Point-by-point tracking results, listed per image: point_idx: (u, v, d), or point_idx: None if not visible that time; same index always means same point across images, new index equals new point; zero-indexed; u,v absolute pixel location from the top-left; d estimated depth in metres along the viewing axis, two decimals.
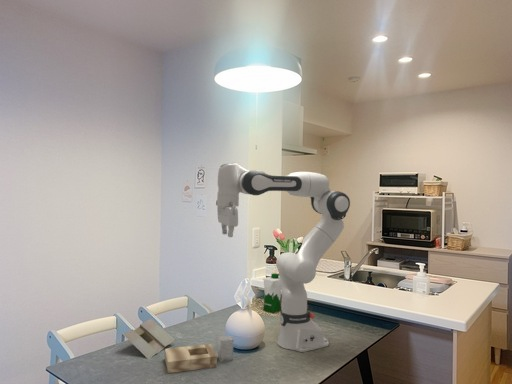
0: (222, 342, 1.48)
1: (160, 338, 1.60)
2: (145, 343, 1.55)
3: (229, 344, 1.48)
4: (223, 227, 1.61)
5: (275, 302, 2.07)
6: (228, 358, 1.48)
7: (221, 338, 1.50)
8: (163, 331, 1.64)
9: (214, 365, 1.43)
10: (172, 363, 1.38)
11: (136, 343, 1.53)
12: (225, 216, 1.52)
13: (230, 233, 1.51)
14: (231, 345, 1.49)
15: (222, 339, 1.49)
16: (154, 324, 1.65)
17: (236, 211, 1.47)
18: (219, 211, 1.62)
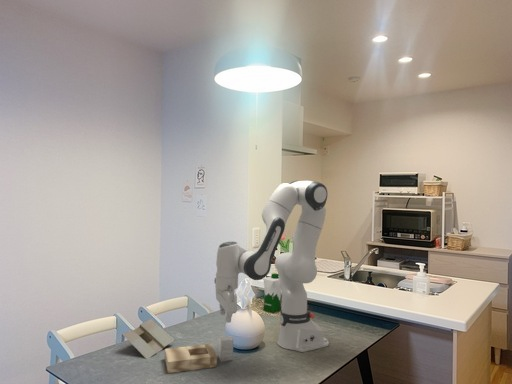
0: (222, 342, 1.48)
1: (159, 338, 1.60)
2: (144, 343, 1.55)
3: (229, 344, 1.48)
4: (221, 306, 1.55)
5: (275, 302, 2.07)
6: (228, 358, 1.48)
7: (221, 338, 1.50)
8: (163, 331, 1.64)
9: (214, 365, 1.43)
10: (172, 363, 1.38)
11: (135, 343, 1.53)
12: (223, 300, 1.46)
13: (228, 318, 1.45)
14: (231, 345, 1.49)
15: (222, 339, 1.49)
16: (154, 324, 1.65)
17: (235, 297, 1.41)
18: (217, 289, 1.56)
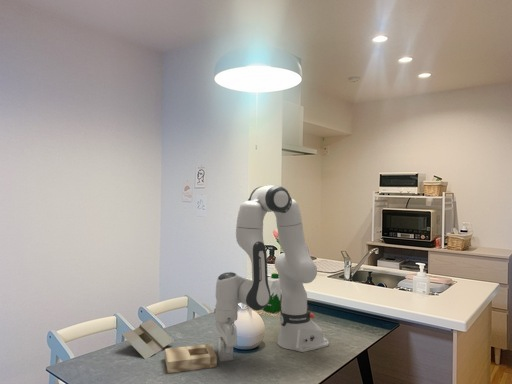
0: (222, 342, 1.48)
1: (159, 338, 1.59)
2: (143, 343, 1.54)
3: None
4: None
5: (275, 302, 2.07)
6: (228, 358, 1.48)
7: (221, 338, 1.50)
8: (162, 332, 1.63)
9: (214, 365, 1.43)
10: (172, 363, 1.38)
11: (134, 343, 1.53)
12: (223, 332, 1.46)
13: (227, 349, 1.47)
14: None
15: (222, 339, 1.49)
16: (154, 324, 1.65)
17: (235, 331, 1.42)
18: None
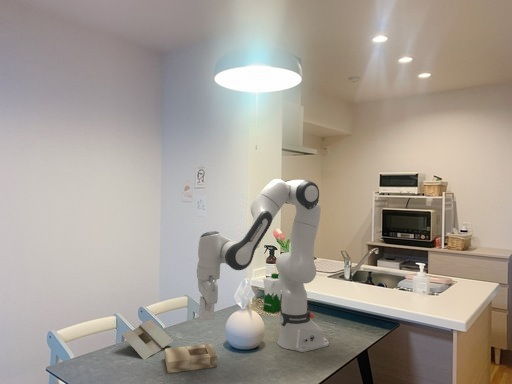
0: (203, 301, 1.45)
1: (158, 339, 1.59)
2: (142, 344, 1.54)
3: None
4: None
5: (275, 302, 2.07)
6: (209, 317, 1.46)
7: (202, 297, 1.47)
8: (162, 332, 1.63)
9: (214, 365, 1.43)
10: (172, 363, 1.38)
11: (133, 343, 1.53)
12: (204, 290, 1.44)
13: (208, 307, 1.44)
14: (212, 304, 1.46)
15: (203, 298, 1.46)
16: (154, 325, 1.65)
17: (216, 287, 1.39)
18: (199, 280, 1.54)
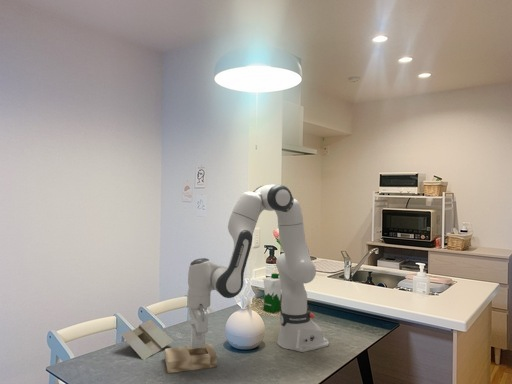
0: (194, 329, 1.44)
1: (158, 339, 1.59)
2: (142, 344, 1.54)
3: None
4: None
5: (275, 302, 2.07)
6: (200, 345, 1.45)
7: (193, 325, 1.46)
8: (162, 332, 1.63)
9: (214, 365, 1.43)
10: (172, 363, 1.38)
11: (133, 343, 1.53)
12: (195, 318, 1.43)
13: (199, 336, 1.43)
14: None
15: (194, 326, 1.45)
16: (153, 325, 1.64)
17: (206, 317, 1.38)
18: None
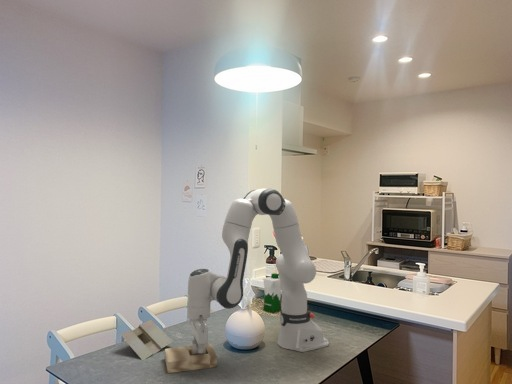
0: (194, 345, 1.44)
1: (157, 339, 1.58)
2: (141, 344, 1.54)
3: None
4: None
5: (275, 302, 2.07)
6: None
7: (193, 341, 1.46)
8: (162, 332, 1.62)
9: (214, 365, 1.43)
10: (172, 363, 1.38)
11: (132, 343, 1.53)
12: (195, 329, 1.43)
13: (200, 349, 1.41)
14: (203, 348, 1.45)
15: (194, 342, 1.45)
16: (153, 325, 1.64)
17: (206, 328, 1.38)
18: None
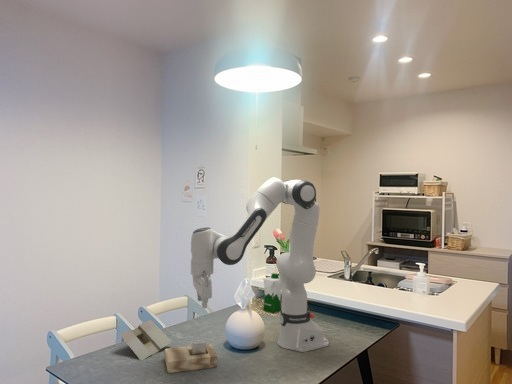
0: (194, 345, 1.44)
1: (157, 339, 1.58)
2: (140, 344, 1.54)
3: (201, 347, 1.45)
4: (198, 293, 1.54)
5: (275, 302, 2.07)
6: None
7: (193, 341, 1.46)
8: (161, 333, 1.62)
9: (214, 365, 1.43)
10: (172, 363, 1.38)
11: (131, 343, 1.52)
12: (199, 285, 1.45)
13: (204, 304, 1.44)
14: (203, 348, 1.45)
15: (194, 342, 1.45)
16: (153, 325, 1.64)
17: (209, 282, 1.41)
18: (194, 276, 1.56)
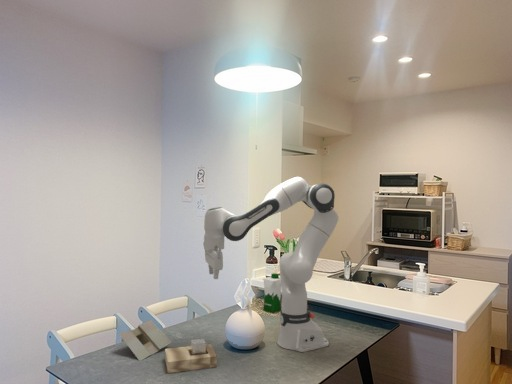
0: (194, 345, 1.44)
1: (156, 340, 1.58)
2: (140, 344, 1.53)
3: (201, 347, 1.45)
4: (210, 267, 1.69)
5: (275, 302, 2.07)
6: None
7: (193, 341, 1.46)
8: (161, 333, 1.62)
9: (214, 365, 1.43)
10: (172, 363, 1.38)
11: (130, 343, 1.52)
12: (211, 259, 1.61)
13: (216, 275, 1.59)
14: (203, 348, 1.45)
15: (194, 342, 1.45)
16: (153, 325, 1.64)
17: (221, 255, 1.56)
18: (206, 251, 1.71)
